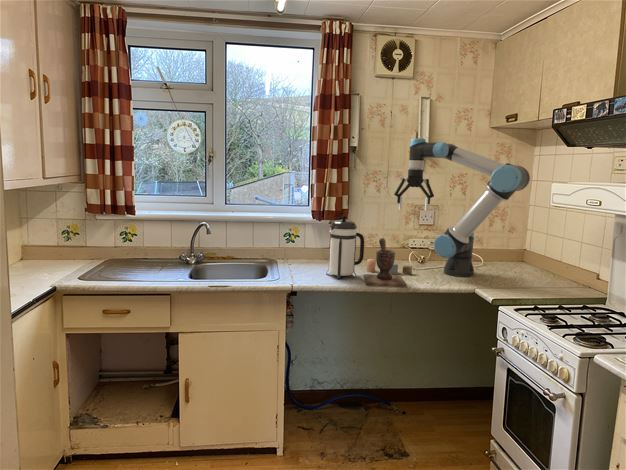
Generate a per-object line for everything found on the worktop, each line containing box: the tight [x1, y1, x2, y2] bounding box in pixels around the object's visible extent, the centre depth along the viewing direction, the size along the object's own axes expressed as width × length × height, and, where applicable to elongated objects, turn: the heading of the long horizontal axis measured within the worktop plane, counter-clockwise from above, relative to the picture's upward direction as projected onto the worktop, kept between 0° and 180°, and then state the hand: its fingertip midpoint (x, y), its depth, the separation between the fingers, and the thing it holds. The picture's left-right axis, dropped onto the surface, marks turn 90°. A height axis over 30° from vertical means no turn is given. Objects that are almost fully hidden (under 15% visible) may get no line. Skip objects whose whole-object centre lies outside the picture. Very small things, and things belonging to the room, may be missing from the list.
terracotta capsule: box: [366, 258, 377, 273], centre depth 234 cm, size 4×4×6 cm
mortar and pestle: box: [375, 237, 396, 280], centre depth 211 cm, size 12×9×20 cm
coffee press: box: [325, 214, 365, 281], centre depth 220 cm, size 17×16×30 cm
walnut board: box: [363, 273, 408, 288], centre depth 213 cm, size 18×16×2 cm
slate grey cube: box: [389, 262, 399, 275], centre depth 232 cm, size 5×5×5 cm
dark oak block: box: [401, 265, 413, 276], centre depth 231 cm, size 4×4×4 cm
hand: (412, 210), depth 236 cm, fingers open, 13 cm apart
